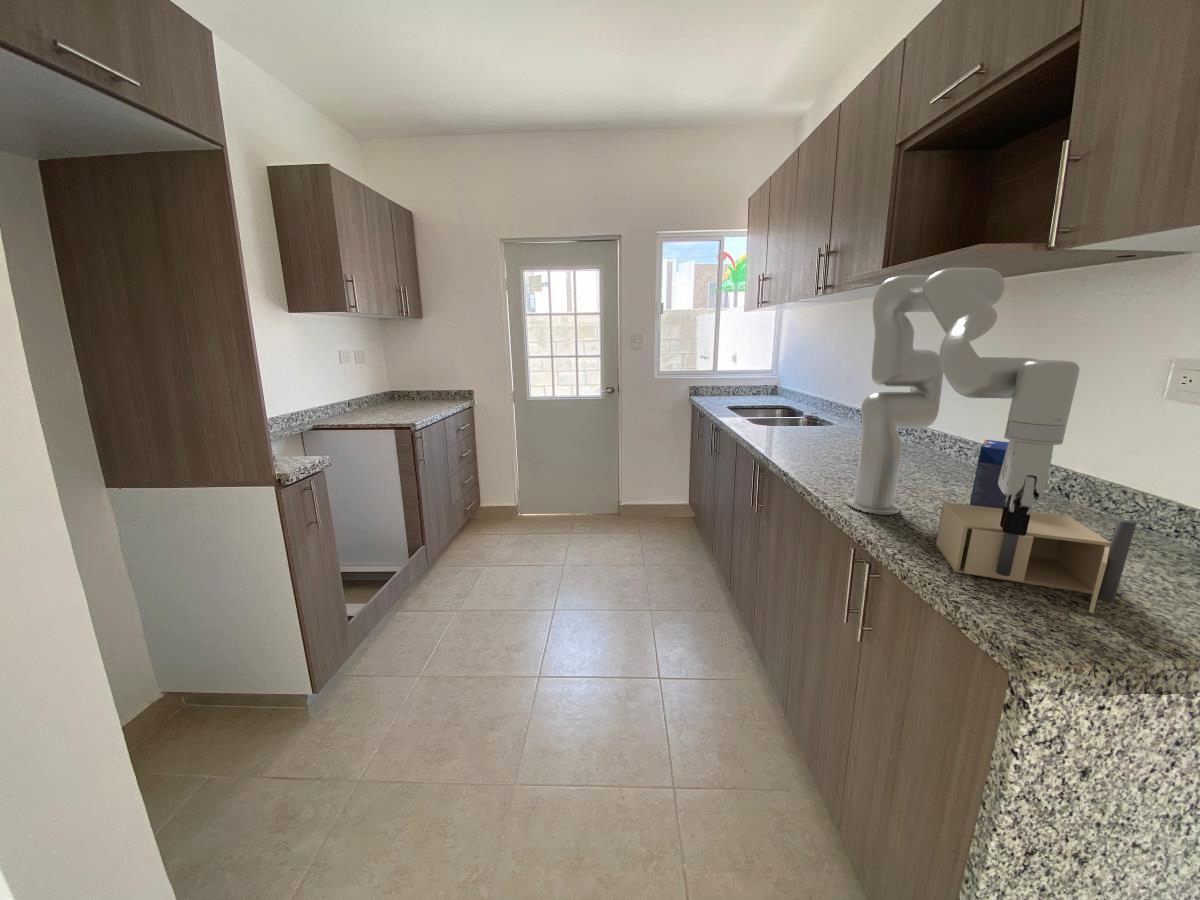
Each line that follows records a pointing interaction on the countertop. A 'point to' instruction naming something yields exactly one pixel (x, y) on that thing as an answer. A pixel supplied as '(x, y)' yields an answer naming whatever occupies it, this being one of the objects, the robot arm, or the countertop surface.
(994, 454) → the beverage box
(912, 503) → the countertop surface
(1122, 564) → the flap
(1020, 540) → the flap
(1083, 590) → the wooden cabinet
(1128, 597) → the countertop surface
